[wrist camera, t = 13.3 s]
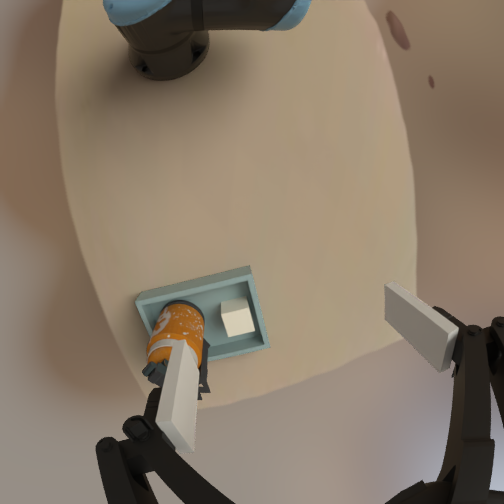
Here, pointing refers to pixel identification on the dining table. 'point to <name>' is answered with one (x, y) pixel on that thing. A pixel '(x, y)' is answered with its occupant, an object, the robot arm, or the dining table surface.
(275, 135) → the dining table surface
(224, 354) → the teal tray
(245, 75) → the dining table surface
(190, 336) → the canister
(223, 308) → the cream cube
